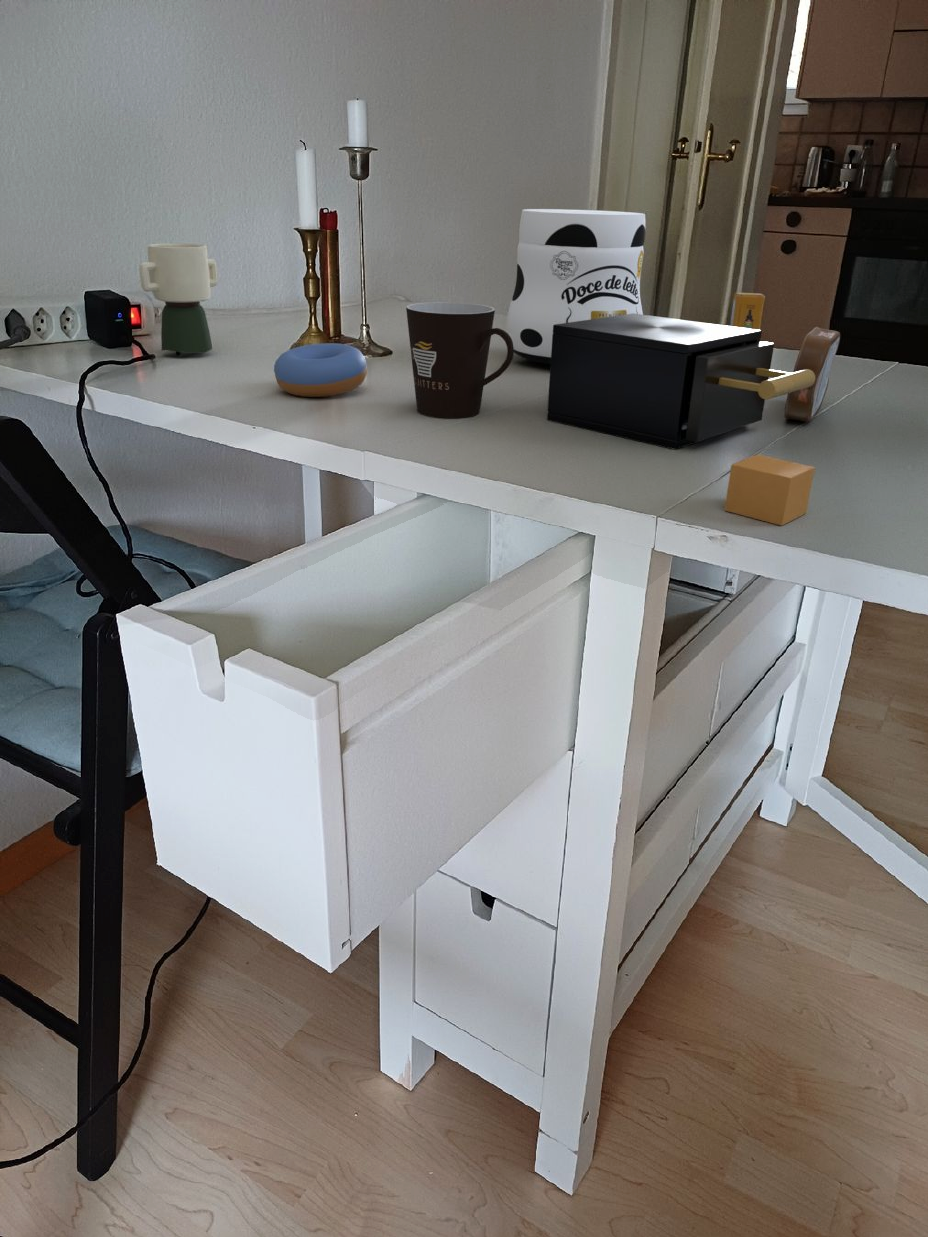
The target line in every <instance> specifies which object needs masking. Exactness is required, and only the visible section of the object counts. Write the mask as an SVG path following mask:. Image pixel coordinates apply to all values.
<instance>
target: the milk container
mask: <svg viewBox="0 0 928 1237" xmlns="http://www.w3.org/2000/svg"><path fill="white" fill-rule="evenodd" d="M645 241H646V214H645V213H642V212H633V211H631V212H630V211H619V210H618V211H617V210H615V211H614V210H596V209H594V210H592V209H563V208H562V209H561V208H559V209H557V208H526V209H524V208H523V209H522V211H521V214H520V222H519V227H518V244H517V247H516V248H517V249H516V250H517V251H516V260H517V261H516V278H515V279H516V280H515V286H514V289H513V290H514V291H513V294H512V298H511V300H510V305H509V308H508V310H507V318H506V331H507V332H506V333H508V335H509V336H510V337H511V339H512V341H513V348H514V354H515V355H517V356H518V357H521V358H522V359H525V360H527V361H530V362H535V363H539V364H543V365H549V366H551V350H552V335H553V325H555V324H562V323H569V322H577V321H584V320H591V319H598V318H605V317H612V316H619V315H626V314H633V313H634V314H641V315H644V313H643V307H642V300H641V274H642V267H643V262H644V253H645V252H644V247H645V246H644V245H645Z"/></svg>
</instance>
